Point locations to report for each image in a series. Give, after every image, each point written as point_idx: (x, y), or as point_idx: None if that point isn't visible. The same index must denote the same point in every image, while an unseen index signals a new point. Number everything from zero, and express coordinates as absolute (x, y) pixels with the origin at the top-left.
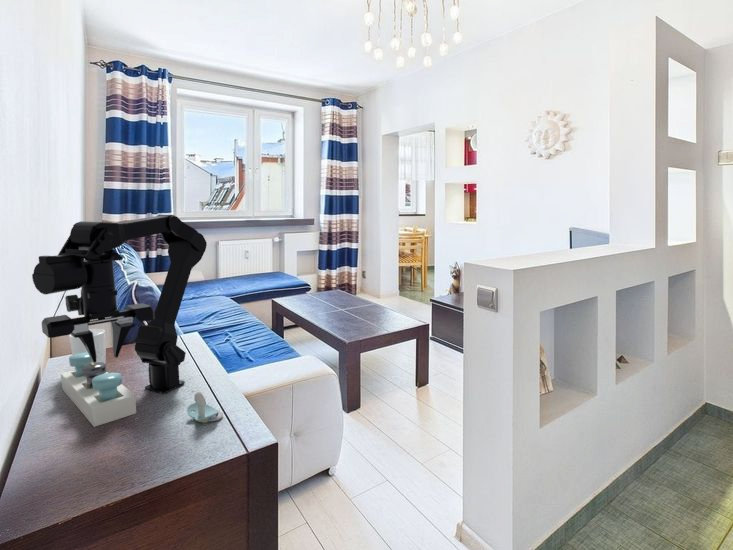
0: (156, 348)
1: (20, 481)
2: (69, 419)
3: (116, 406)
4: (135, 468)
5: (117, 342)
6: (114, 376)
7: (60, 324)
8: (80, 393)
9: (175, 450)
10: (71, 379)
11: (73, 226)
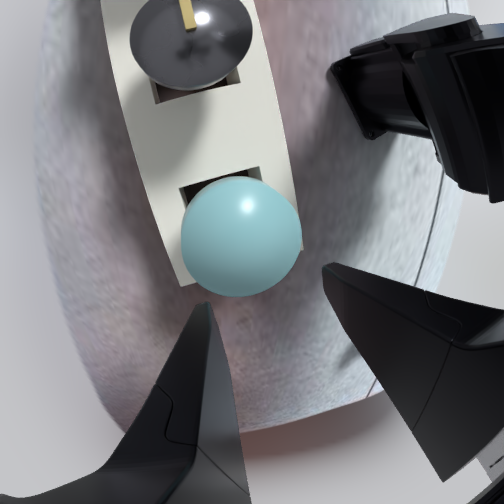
0: (478, 190)
1: (100, 382)
2: (113, 176)
3: None
4: (249, 405)
5: (383, 384)
6: (273, 246)
7: None
8: (133, 134)
9: (306, 384)
10: None
11: None
